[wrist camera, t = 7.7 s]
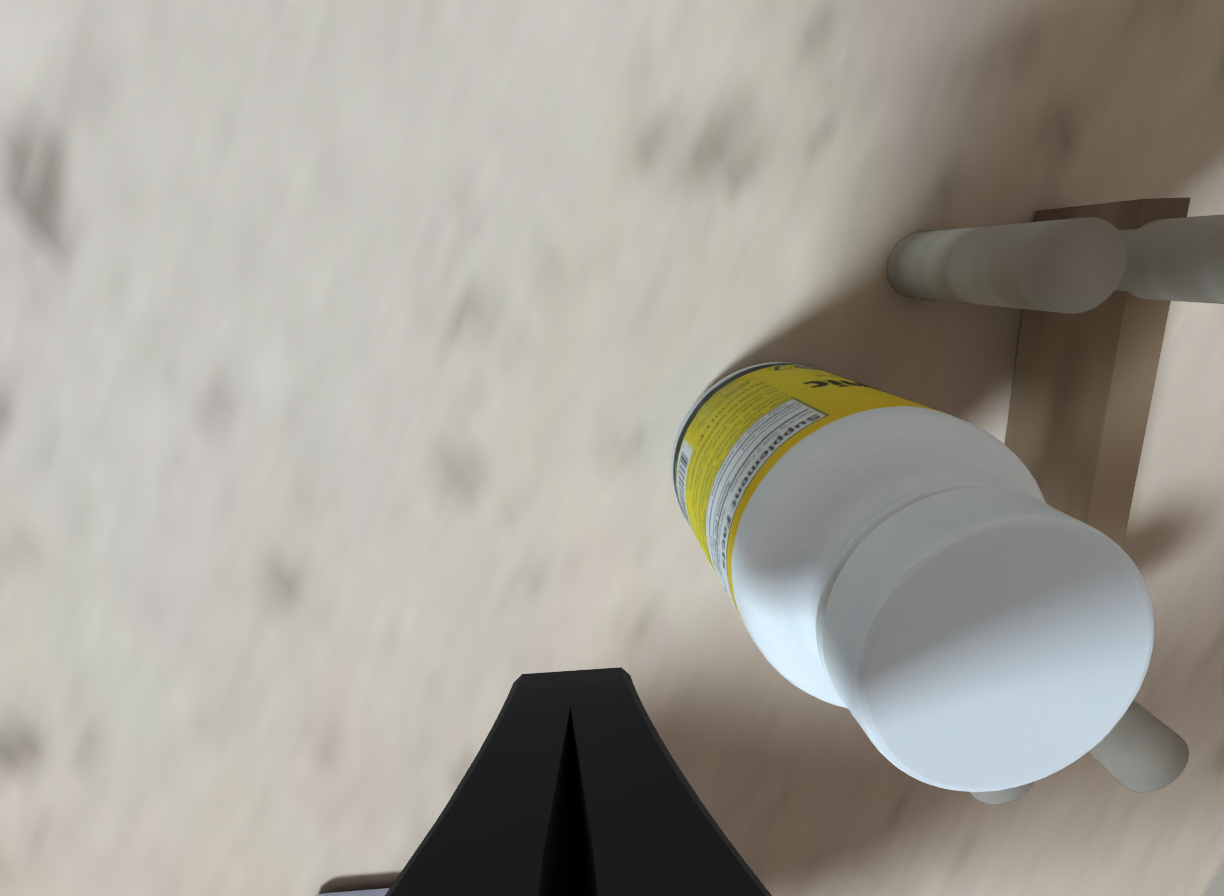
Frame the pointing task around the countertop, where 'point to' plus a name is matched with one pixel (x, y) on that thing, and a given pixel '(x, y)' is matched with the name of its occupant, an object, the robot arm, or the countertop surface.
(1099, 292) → the pin seat
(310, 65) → the countertop surface
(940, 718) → the supplement bottle
